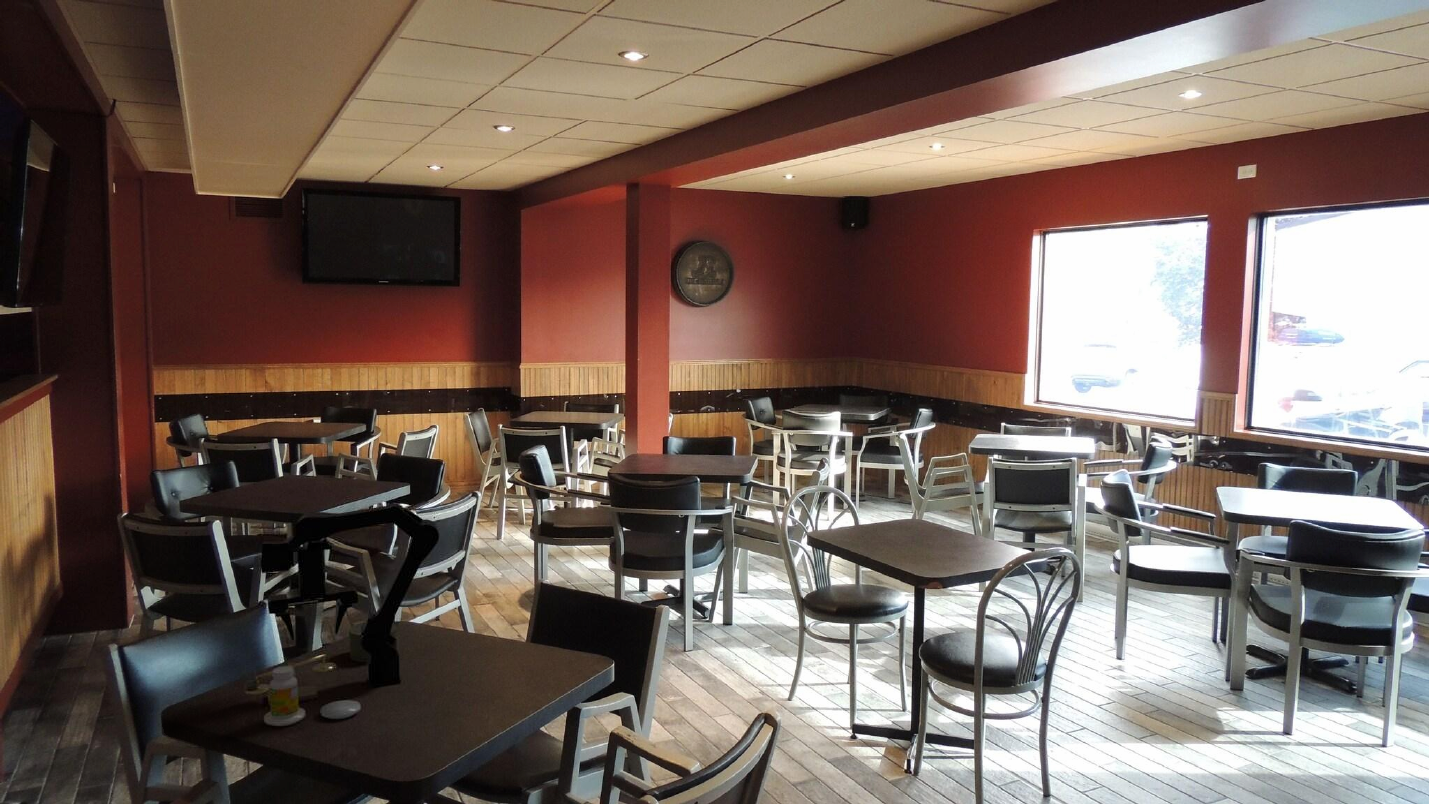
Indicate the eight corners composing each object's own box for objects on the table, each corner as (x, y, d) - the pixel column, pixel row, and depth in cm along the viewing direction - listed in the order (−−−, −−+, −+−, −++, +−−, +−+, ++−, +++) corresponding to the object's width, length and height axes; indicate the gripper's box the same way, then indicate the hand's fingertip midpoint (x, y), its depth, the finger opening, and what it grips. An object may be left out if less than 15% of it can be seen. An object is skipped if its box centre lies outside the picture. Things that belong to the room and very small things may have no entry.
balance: (336, 686, 232) (334, 648, 231) (338, 695, 227) (336, 656, 226) (246, 699, 224) (244, 660, 223) (246, 709, 219) (244, 669, 218)
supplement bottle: (265, 718, 211) (263, 673, 210) (281, 708, 216) (279, 664, 215) (288, 720, 210) (286, 674, 209) (304, 710, 215) (302, 665, 214)
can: (409, 648, 258) (408, 622, 257) (383, 664, 246) (382, 637, 246) (366, 644, 261) (366, 618, 260) (339, 660, 249) (338, 633, 249)
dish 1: (304, 710, 218) (304, 704, 218) (306, 724, 211) (306, 718, 211) (263, 716, 215) (263, 710, 215) (264, 730, 208) (264, 724, 207)
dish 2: (358, 703, 222) (358, 698, 222) (362, 717, 215) (362, 711, 214) (319, 709, 218) (319, 704, 218) (322, 723, 211) (321, 717, 211)
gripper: (350, 556, 240) (353, 620, 241) (264, 566, 231) (267, 632, 233) (357, 567, 230) (359, 634, 231) (267, 577, 222) (270, 646, 223)
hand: (314, 636), depth 230 cm, fingers open, 9 cm apart
